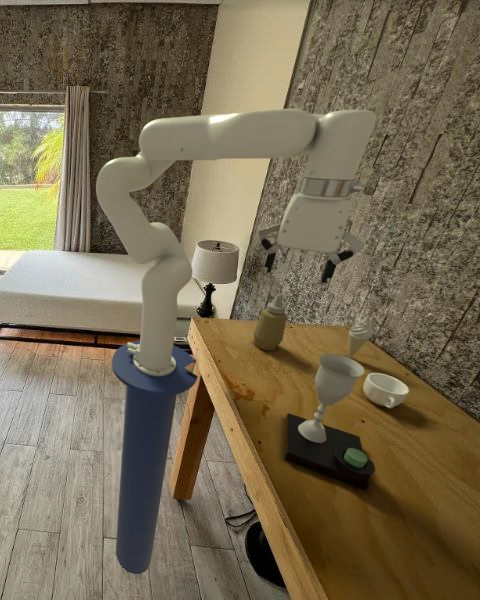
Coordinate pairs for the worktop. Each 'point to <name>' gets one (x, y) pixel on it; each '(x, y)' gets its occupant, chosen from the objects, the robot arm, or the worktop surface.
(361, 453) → the tare button
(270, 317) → the squeeze bottle
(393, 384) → the teacup
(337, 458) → the scale
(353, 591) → the worktop surface
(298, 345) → the worktop surface
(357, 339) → the ice cream cone
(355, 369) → the chalice
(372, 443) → the worktop surface
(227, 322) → the worktop surface
